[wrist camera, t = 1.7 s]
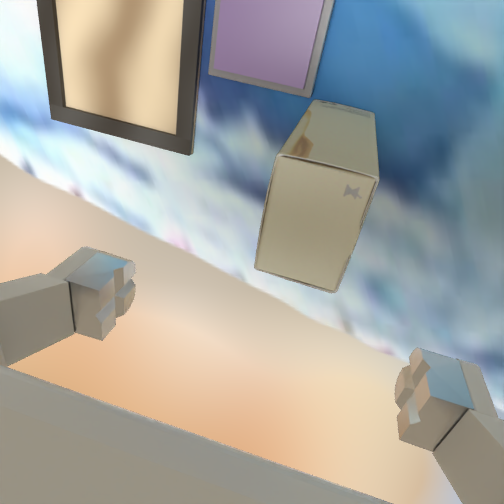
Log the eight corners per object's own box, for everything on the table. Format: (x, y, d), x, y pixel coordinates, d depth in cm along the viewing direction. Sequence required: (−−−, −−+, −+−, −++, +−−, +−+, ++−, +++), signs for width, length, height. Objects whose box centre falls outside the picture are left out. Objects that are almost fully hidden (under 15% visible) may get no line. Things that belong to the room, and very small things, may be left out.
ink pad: (343, -35, 21) (342, -39, 20) (311, 95, 25) (308, 99, 23) (226, -57, 22) (218, -62, 20) (213, 73, 25) (205, 75, 24)
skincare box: (312, 97, 25) (275, 142, 15) (377, 111, 24) (385, 169, 14) (291, 185, 28) (249, 272, 18) (347, 200, 28) (336, 298, 17)
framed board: (209, -38, 22) (205, -40, 22) (192, 153, 29) (189, 155, 28) (35, -72, 24) (27, -75, 23) (57, 117, 30) (51, 119, 30)
